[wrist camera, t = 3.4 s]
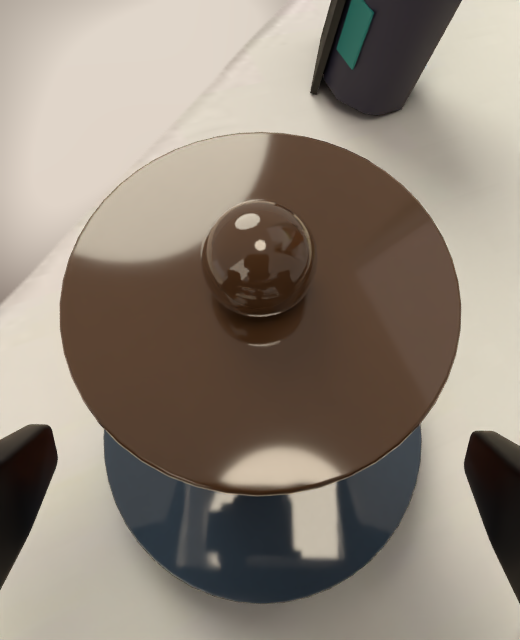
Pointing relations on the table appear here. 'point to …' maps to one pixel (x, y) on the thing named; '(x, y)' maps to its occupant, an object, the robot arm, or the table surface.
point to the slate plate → (264, 526)
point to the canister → (260, 314)
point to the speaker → (379, 49)
